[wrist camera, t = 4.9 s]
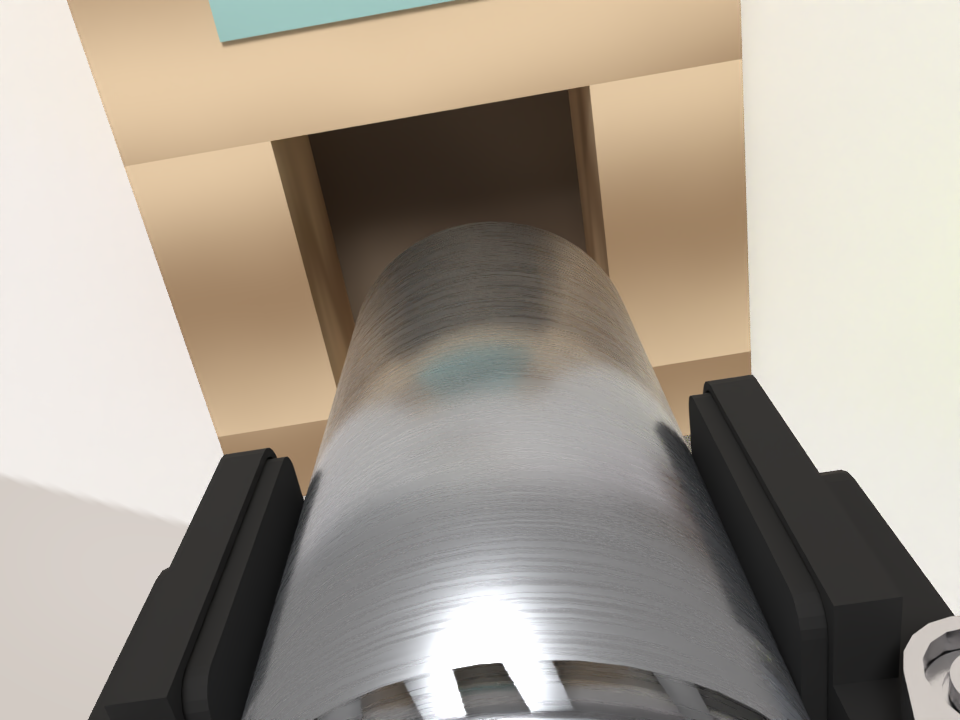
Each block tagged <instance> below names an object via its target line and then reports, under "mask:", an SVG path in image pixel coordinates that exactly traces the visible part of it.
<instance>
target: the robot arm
mask: <svg viewBox="0 0 960 720" xmlns="http://www.w3.org/2000/svg"><path fill="white" fill-rule="evenodd" d="M689 420H690V435H691V449H692V457H693V459H694V461H695V464H696V466H697V468H698V470H699V472H700V475H701V477H702V479H703V481H704V484H705V486H706V488H707V490H708V493H709V495H710V497H711V499H712V501H713V504H714V506H715V508H716V510H717V513H718V515H719V517H720V519H721V522H722V524H723V526H724V528H725V531H726V533H727V535H728V537H729V539H730V542H731V544H732V546H733V548H734V551H735V553H736V555H737V557H738V560H739V562H740V564H741V566H742V568H743V571H744V573H745V575H746V577H747V580H748V582H749V584H750V586H751V589H752V591H753V593H754V595H755V597H756V600H757V602H758V604H759V606H760V609H761V611H762V613H763V615H764V618H765V620H766V622H767V624H768V626H769V629H770V631H771V633H772V635H773V638H774V640H775V642H776V644H777V647H778V649H779V651H780V653H781V655H782V658H783V660H784V662H785V664H786V667H787V669H788V671H789V673H790V676H791V678H792V680H793V682H794V684H795V687H796V689H797V691H798V693H799V696H800V698H801V700H802V702H803V705H804V707H805V709H806V711H807V713H808V716H809V718H810V720H960V616H954V614H953V613H952V611H951V610H950V609H949V607H948V606H947V605H946V603H945V602H944V601H943V599H942V598H941V596H940V595H939V594H938V592H937V591H936V590H935V588H934V587H933V586H932V584H931V583H930V581H929V580H928V579H927V577H926V576H925V575H924V573H923V572H922V570H921V569H920V568H919V566H918V565H917V564H916V562H915V561H914V560H913V558H912V557H911V555H910V554H909V553H908V551H907V550H906V549H905V547H904V546H903V545H902V543H901V542H900V540H899V539H898V538H897V536H896V535H895V534H894V532H893V531H892V530H891V528H890V527H889V525H888V524H887V523H886V521H885V520H884V519H883V517H882V516H881V515H880V513H879V512H878V510H877V509H876V508H875V506H874V505H873V504H872V502H871V501H870V500H869V498H868V497H867V495H866V494H865V493H864V491H863V490H862V489H861V487H860V486H859V485H858V483H857V482H856V480H855V479H854V478H853V477H852V476H851V475H850V474H849V473H848V472H847V471H843V470H837V471H830V472H823V473H819V472H818V470H817V469H816V467H815V466H814V464H813V463H812V461H811V460H810V458H809V457H808V455H807V454H806V452H805V451H804V449H803V448H802V446H801V445H800V443H799V442H798V440H797V439H796V438H795V436H794V435H793V433H792V432H791V430H790V429H789V427H788V426H787V424H786V423H785V421H784V420H783V418H782V417H781V415H780V414H779V412H778V411H777V409H776V408H775V406H774V405H773V403H772V402H771V400H770V399H769V397H768V396H767V395H766V393H765V392H764V390H763V389H762V387H761V386H760V384H759V383H758V381H757V380H756V378H755V377H754V376H753V375H745V376H738V377H732V378H725V379H719V380H712V381H705V383H704V387H703V394H698V395H692V396H690V397H689ZM303 504H304V499H303V496H302V492H301V489H300V486H299V482H298V479H297V476H296V472H295V469H294V466H293V463H292V461H291V460H290V458H289V457H281V458H277V456H276V454H275V453H274V451H273V450H272V449H271V448H264V449H257V450H251V451H244V452H237V453H231V454H226V455H224V456H223V457H222V458H221V460H220V462H219V464H218V466H217V469H216V471H215V473H214V475H213V477H212V479H211V481H210V483H209V485H208V487H207V490H206V492H205V494H204V496H203V498H202V500H201V502H200V504H199V506H198V508H197V511H196V513H195V515H194V517H193V519H192V521H191V523H190V525H189V527H188V529H187V532H186V534H185V536H184V538H183V540H182V542H181V544H180V546H179V548H178V551H177V553H176V555H175V557H174V559H173V561H172V563H171V565H170V567H169V568H167V569H165V570H163V571H162V572H161V574H160V575H159V576H158V578H157V579H156V581H155V583H154V585H153V587H152V589H151V592H150V594H149V596H148V598H147V600H146V602H145V604H144V606H143V608H142V610H141V612H140V614H139V616H138V618H137V620H136V622H135V624H134V626H133V628H132V631H131V633H130V635H129V637H128V639H127V641H126V643H125V645H124V647H123V649H122V651H121V653H120V655H119V657H118V659H117V661H116V663H115V665H114V667H113V670H112V671H111V674H110V676H109V678H108V680H107V682H106V684H105V686H104V688H103V690H102V692H101V694H100V696H99V698H98V700H97V702H96V704H95V706H94V708H93V710H92V713H91V715H90V717H89V719H88V720H241V719H242V715H243V712H244V708H245V705H246V701H247V698H248V694H249V691H250V687H251V684H252V681H253V677H254V674H255V670H256V667H257V663H258V660H259V656H260V653H261V649H262V646H263V643H264V639H265V636H266V632H267V629H268V625H269V622H270V618H271V615H272V611H273V608H274V604H275V601H276V598H277V594H278V591H279V587H280V584H281V580H282V577H283V573H284V570H285V566H286V563H287V560H288V556H289V553H290V549H291V546H292V542H293V539H294V535H295V532H296V528H297V525H298V521H299V518H300V515H301V511H302V508H303Z"/></svg>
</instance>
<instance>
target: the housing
mask: <svg viewBox="0 0 960 720" xmlns="http://www.w3.org/2000/svg"><path fill="white" fill-rule="evenodd" d="M67 2H68V5H69V8H70V11H71V14H72V17H73V20H74V23H75V26H76V28H77V31H78V34H79V37H80V40H81V43H82V46H83V49H84V52H85V54H86V57H87V60H88V63H89V66H90V69H91V72H92V75H93V78H94V80H95V83H96V86H97V89H98V92H99V95H100V98H101V101H102V104H103V107H104V109H105V112H106V115H107V118H108V121H109V124H110V127H111V130H112V133H113V135H114V138H115V141H116V144H117V147H118V150H119V153H120V156H121V159H122V161H123V164H124V167H125V170H126V173H127V176H128V179H129V182H130V185H131V187H132V190H133V193H134V196H135V199H136V202H137V205H138V208H139V211H140V213H141V216H142V219H143V222H144V225H145V228H146V231H147V234H148V237H149V240H150V242H151V245H152V248H153V251H154V254H155V257H156V260H157V263H158V266H159V268H160V271H161V274H162V277H163V280H164V283H165V286H166V289H167V292H168V294H169V297H170V300H171V303H172V306H173V309H174V312H175V315H176V318H177V320H178V323H179V326H180V329H181V332H182V335H183V338H184V341H185V344H186V346H187V349H188V352H189V355H190V358H191V361H192V364H193V367H194V370H195V373H196V375H197V378H198V381H199V384H200V387H201V390H202V393H203V396H204V399H205V401H206V404H207V407H208V410H209V413H210V416H211V419H212V422H213V425H214V427H215V430H216V433H217V436H218V439H219V442H220V445H221V448H222V451H223V453H224V455H226V454H231V453H237V452H244V451H251V450H257V449H264V448H271V449H272V450H273V451H274V453H275V454H276V456H277V458H281V457H289V458H290V460H291V461H292V463H293V466H294V469H295V472H296V476H297V479H298V482H299V486H300V489H301V492H302V496H306V494H307V490H308V487H309V483H310V480H311V477H312V473H313V470H314V466H315V463H316V459H317V456H318V452H319V449H320V445H321V442H322V438H323V435H324V432H325V428H326V425H327V421H328V418H329V414H330V411H331V407H332V404H333V400H334V397H335V394H336V390H337V387H338V383H339V380H340V376H341V373H342V369H343V366H344V362H345V359H346V356H347V352H348V349H349V345H350V342H351V338H352V335H353V331H354V328H355V324H356V321H357V317H358V314H359V311H360V309H361V306H362V304H363V302H364V299H365V297H366V295H367V293H368V292H369V290H370V288H371V287H372V285H373V283H374V282H375V280H376V279H377V278H378V277H379V275H380V274H381V273H382V272H383V271H384V269H385V268H386V267H387V266H388V265H389V264H390V263H391V262H392V261H393V260H394V259H395V258H397V257H398V256H399V255H400V254H401V253H403V252H404V251H405V250H407V249H408V248H410V247H411V246H412V245H414V244H415V243H417V242H419V241H421V240H423V239H425V238H427V237H429V236H430V235H432V234H435V233H438V232H440V231H443V230H446V229H449V228H452V227H456V226H461V225H465V224H469V223H479V222H511V223H517V224H524V225H529V226H532V227H536V228H539V229H543V230H546V231H548V232H551V233H553V234H555V235H557V236H560V237H562V238H564V239H566V240H567V241H569V242H570V243H572V244H574V245H575V246H577V247H579V248H580V249H581V250H582V251H584V252H585V253H586V254H587V255H589V256H590V257H591V258H592V259H593V260H594V261H595V262H596V263H597V264H598V265H599V266H600V267H601V268H602V269H603V270H604V271H605V273H606V274H607V275H608V277H609V278H610V280H611V281H612V283H613V284H614V285H615V287H616V289H617V291H618V293H619V295H620V297H621V299H622V301H623V303H624V305H625V307H626V310H627V312H628V314H629V316H630V319H631V321H632V323H633V325H634V327H635V330H636V332H637V334H638V336H639V339H640V341H641V343H642V345H643V348H644V350H645V352H646V354H647V356H648V359H649V361H650V363H651V365H652V368H653V370H654V372H655V374H656V377H657V379H658V381H659V383H660V385H661V388H662V390H663V392H664V394H665V397H666V399H667V401H668V403H669V406H670V408H671V410H672V412H673V414H674V417H675V419H676V421H677V423H678V426H679V428H680V430H681V432H682V435H683V436H686V435H690V420H689V397H690V396H692V395H698V394H703V387H704V383H705V381H712V380H719V379H725V378H732V377H738V376H745V375H751V348H750V314H749V280H748V245H747V211H746V176H745V142H744V107H743V73H742V39H741V4H740V0H67Z"/></svg>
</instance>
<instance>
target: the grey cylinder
mask: <svg viewBox="0 0 960 720" xmlns="http://www.w3.org/2000/svg"><path fill="white" fill-rule="evenodd" d="M241 720H810V718H809V716H808V713H807V711H806V709H805V707H804V705H803V702H802V700H801V698H800V696H799V693H798V691H797V689H796V687H795V684H794V682H793V680H792V678H791V676H790V673H789V671H788V669H787V667H786V664H785V662H784V660H783V658H782V655H781V653H780V651H779V649H778V647H777V644H776V642H775V640H774V638H773V635H772V633H771V631H770V629H769V626H768V624H767V622H766V620H765V618H764V615H763V613H762V611H761V609H760V606H759V604H758V602H757V600H756V597H755V595H754V593H753V591H752V589H751V586H750V584H749V582H748V580H747V577H746V575H745V573H744V571H743V568H742V566H741V564H740V562H739V560H738V557H737V555H736V553H735V551H734V548H733V546H732V544H731V542H730V539H729V537H728V535H727V533H726V531H725V528H724V526H723V524H722V522H721V519H720V517H719V515H718V513H717V510H716V508H715V506H714V504H713V501H712V499H711V497H710V495H709V493H708V490H707V488H706V486H705V484H704V481H703V479H702V477H701V475H700V472H699V470H698V468H697V466H696V464H695V461H694V459H693V457H692V455H691V452H690V450H689V448H688V446H687V443H686V441H685V439H684V437H683V435H682V432H681V430H680V428H679V426H678V423H677V421H676V419H675V417H674V414H673V412H672V410H671V408H670V406H669V403H668V401H667V399H666V397H665V394H664V392H663V390H662V388H661V385H660V383H659V381H658V379H657V377H656V374H655V372H654V370H653V368H652V365H651V363H650V361H649V359H648V356H647V354H646V352H645V350H644V348H643V345H642V343H641V341H640V339H639V336H638V334H637V332H636V330H635V327H634V325H633V323H632V321H631V319H630V316H629V314H628V312H627V310H626V307H625V305H624V303H623V301H622V299H621V297H620V295H619V293H618V291H617V289H616V287H615V285H614V284H613V283H612V281H611V280H610V278H609V277H608V275H607V274H606V273H605V271H604V270H603V269H602V268H601V267H600V266H599V265H598V264H597V263H596V262H595V261H594V260H593V259H592V258H591V257H590V256H589V255H587V254H586V253H585V252H584V251H582V250H581V249H580V248H579V247H577V246H575V245H574V244H572V243H570V242H569V241H567V240H566V239H564V238H562V237H560V236H557V235H555V234H553V233H551V232H548V231H546V230H543V229H539V228H536V227H532V226H529V225H524V224H517V223H511V222H479V223H469V224H465V225H461V226H456V227H452V228H449V229H446V230H443V231H440V232H438V233H435V234H432V235H430V236H429V237H427V238H425V239H423V240H421V241H419V242H417V243H415V244H414V245H412V246H411V247H410V248H408V249H407V250H405V251H404V252H403V253H401V254H400V255H399V256H398V257H397V258H395V259H394V260H393V261H392V262H391V263H390V264H389V265H388V266H387V267H386V268H385V269H384V271H383V272H382V273H381V274H380V275H379V277H378V278H377V279H376V280H375V282H374V283H373V285H372V287H371V288H370V290H369V292H368V293H367V295H366V297H365V299H364V302H363V304H362V306H361V309H360V311H359V314H358V317H357V321H356V324H355V328H354V331H353V335H352V338H351V342H350V345H349V349H348V352H347V356H346V359H345V362H344V366H343V369H342V373H341V376H340V380H339V383H338V387H337V390H336V394H335V397H334V400H333V404H332V407H331V411H330V414H329V418H328V421H327V425H326V428H325V432H324V435H323V438H322V442H321V445H320V449H319V452H318V456H317V459H316V463H315V466H314V470H313V473H312V477H311V480H310V483H309V487H308V490H307V494H306V497H305V501H304V504H303V508H302V511H301V515H300V518H299V521H298V525H297V528H296V532H295V535H294V539H293V542H292V546H291V549H290V553H289V556H288V560H287V563H286V566H285V570H284V573H283V577H282V580H281V584H280V587H279V591H278V594H277V598H276V601H275V604H274V608H273V611H272V615H271V618H270V622H269V625H268V629H267V632H266V636H265V639H264V643H263V646H262V649H261V653H260V656H259V660H258V663H257V667H256V670H255V674H254V677H253V681H252V684H251V687H250V691H249V694H248V698H247V701H246V705H245V708H244V712H243V715H242V719H241Z"/></svg>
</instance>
